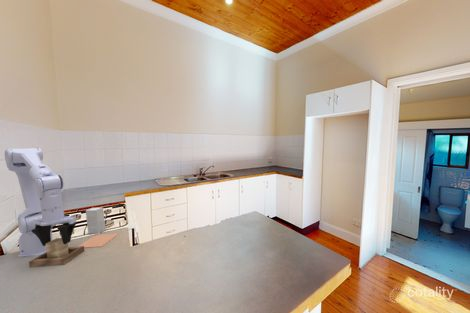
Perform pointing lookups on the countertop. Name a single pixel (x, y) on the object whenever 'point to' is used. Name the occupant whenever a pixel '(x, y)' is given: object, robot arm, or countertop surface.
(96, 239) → the terracotta tile
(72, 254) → the walnut pocket
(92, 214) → the skincare box
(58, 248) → the maple block
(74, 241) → the countertop surface
